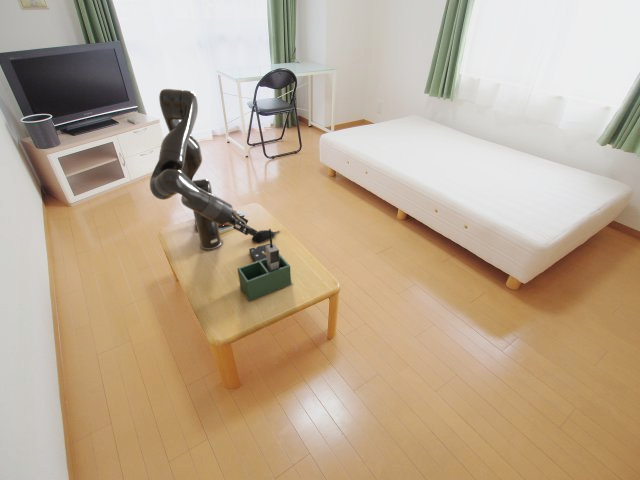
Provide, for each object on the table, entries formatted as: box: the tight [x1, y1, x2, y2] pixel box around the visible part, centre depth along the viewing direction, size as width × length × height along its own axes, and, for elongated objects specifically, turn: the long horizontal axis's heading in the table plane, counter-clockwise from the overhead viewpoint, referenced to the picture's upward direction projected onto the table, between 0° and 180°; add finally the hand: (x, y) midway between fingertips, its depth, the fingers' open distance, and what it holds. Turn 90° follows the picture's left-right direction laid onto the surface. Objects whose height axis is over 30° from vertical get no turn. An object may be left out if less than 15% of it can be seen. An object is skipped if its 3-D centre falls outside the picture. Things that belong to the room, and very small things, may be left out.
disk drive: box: [248, 243, 270, 263], centre depth 152 cm, size 10×3×15 cm
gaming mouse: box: [251, 229, 280, 244], centre depth 166 cm, size 6×15×4 cm, turn 129°
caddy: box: [237, 253, 292, 302], centre depth 136 cm, size 10×18×10 cm, turn 123°
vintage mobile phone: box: [265, 228, 280, 272], centre depth 133 cm, size 4×5×25 cm
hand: (251, 228), depth 120 cm, fingers open, 8 cm apart
